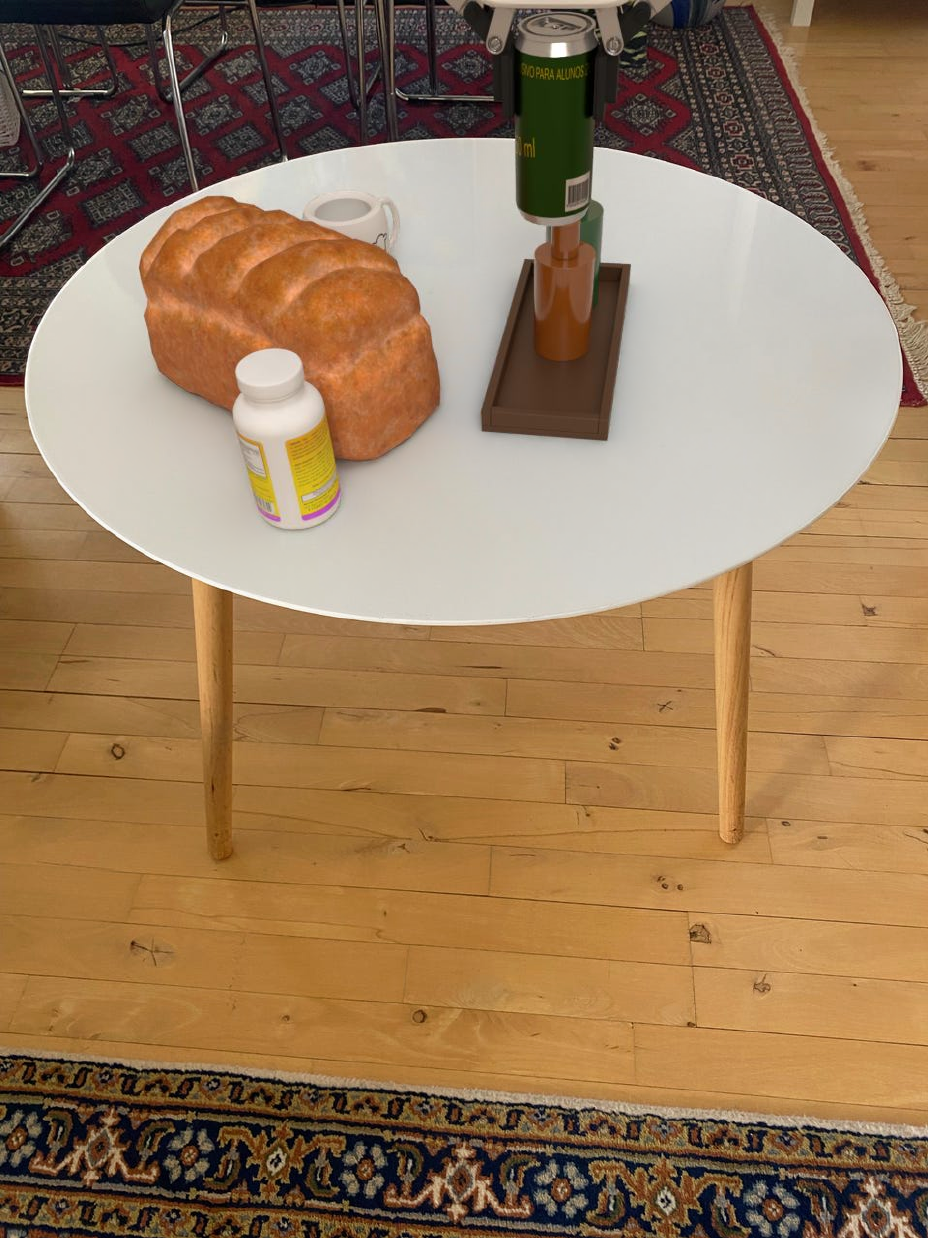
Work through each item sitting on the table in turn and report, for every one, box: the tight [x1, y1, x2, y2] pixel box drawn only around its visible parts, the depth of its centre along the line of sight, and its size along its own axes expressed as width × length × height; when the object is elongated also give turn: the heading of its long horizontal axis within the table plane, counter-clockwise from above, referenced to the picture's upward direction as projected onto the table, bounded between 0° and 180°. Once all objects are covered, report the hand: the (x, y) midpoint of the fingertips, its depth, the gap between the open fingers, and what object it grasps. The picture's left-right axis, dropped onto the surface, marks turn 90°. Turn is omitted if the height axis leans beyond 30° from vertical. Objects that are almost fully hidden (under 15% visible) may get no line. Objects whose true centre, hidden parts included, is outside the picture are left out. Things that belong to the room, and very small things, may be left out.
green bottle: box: [545, 198, 605, 309], centre depth 92 cm, size 5×5×12 cm
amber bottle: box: [533, 220, 595, 361], centre depth 86 cm, size 5×5×12 cm
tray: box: [480, 258, 632, 441], centre depth 90 cm, size 11×26×2 cm, turn 170°
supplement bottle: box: [232, 348, 342, 531], centre depth 74 cm, size 7×7×13 cm
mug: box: [301, 189, 401, 254], centre depth 100 cm, size 12×8×8 cm
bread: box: [138, 195, 441, 462], centre depth 83 cm, size 14×26×16 cm, turn 52°
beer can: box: [514, 11, 600, 227], centre depth 67 cm, size 5×5×12 cm
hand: (555, 109), depth 66 cm, fingers closed on beer can, 5 cm apart
